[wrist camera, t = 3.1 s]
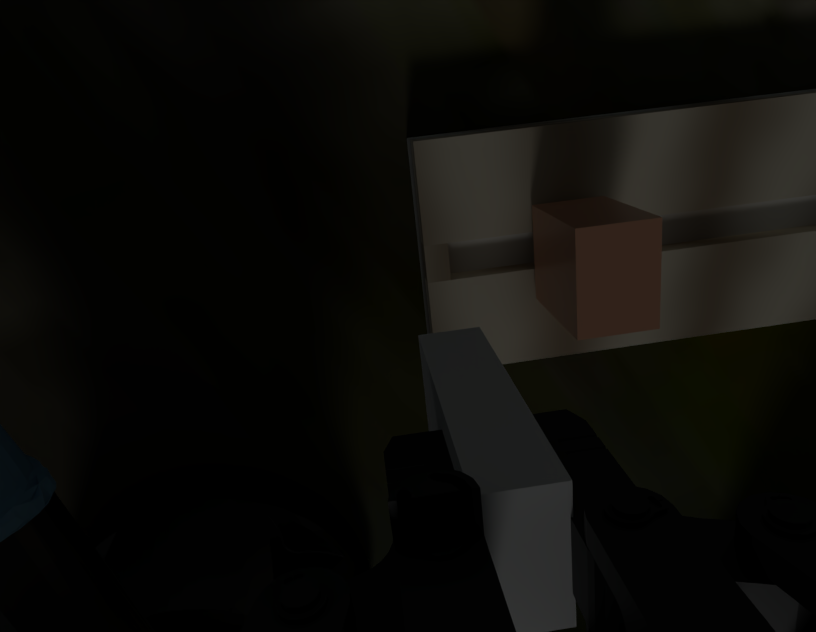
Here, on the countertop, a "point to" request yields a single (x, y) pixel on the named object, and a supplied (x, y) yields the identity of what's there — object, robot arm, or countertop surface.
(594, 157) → the panel
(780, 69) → the countertop surface
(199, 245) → the countertop surface
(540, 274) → the fader tab
